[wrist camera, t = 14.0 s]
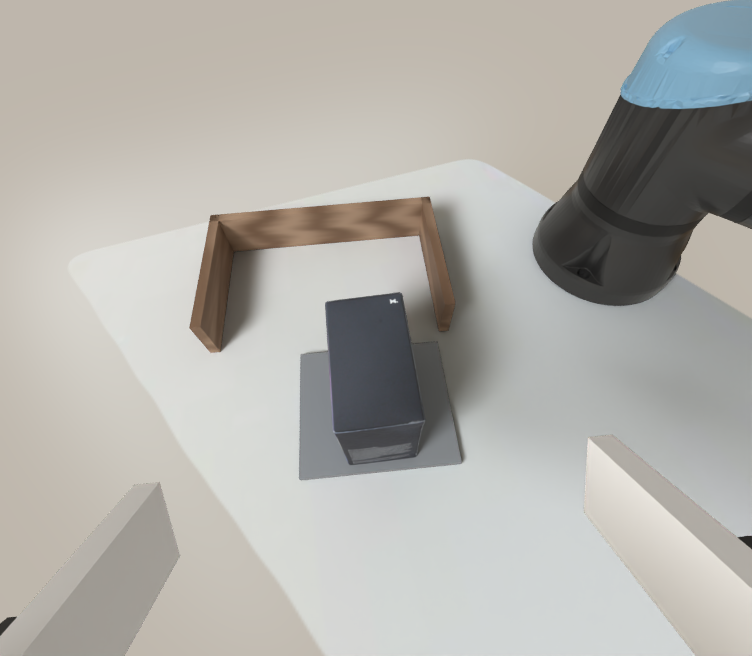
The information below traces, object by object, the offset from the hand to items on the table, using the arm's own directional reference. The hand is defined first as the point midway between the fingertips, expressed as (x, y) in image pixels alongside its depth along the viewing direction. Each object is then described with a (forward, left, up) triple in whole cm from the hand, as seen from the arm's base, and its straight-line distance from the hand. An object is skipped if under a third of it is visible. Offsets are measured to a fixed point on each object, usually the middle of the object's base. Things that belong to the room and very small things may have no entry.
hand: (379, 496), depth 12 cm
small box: (0, -11, -22) cm, 24 cm away
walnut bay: (+4, -25, -22) cm, 33 cm away
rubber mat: (0, -11, -22) cm, 25 cm away
